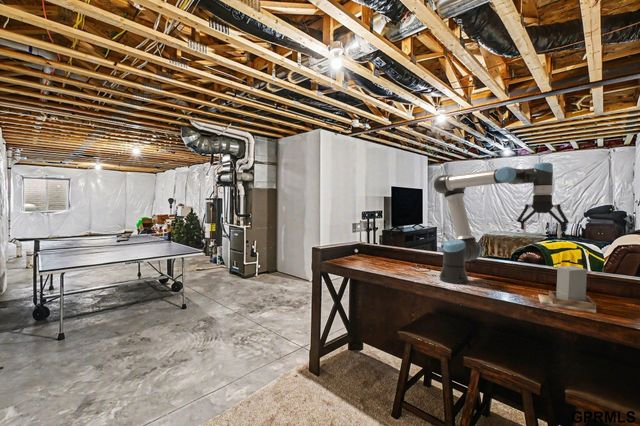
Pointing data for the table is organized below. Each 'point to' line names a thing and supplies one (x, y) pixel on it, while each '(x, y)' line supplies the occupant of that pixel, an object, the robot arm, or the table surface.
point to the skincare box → (571, 283)
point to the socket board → (567, 302)
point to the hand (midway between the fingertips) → (541, 237)
